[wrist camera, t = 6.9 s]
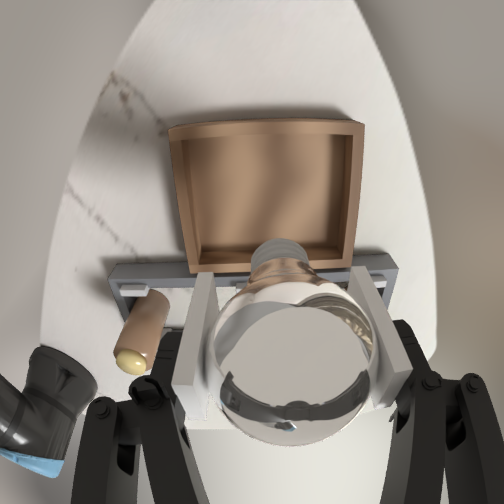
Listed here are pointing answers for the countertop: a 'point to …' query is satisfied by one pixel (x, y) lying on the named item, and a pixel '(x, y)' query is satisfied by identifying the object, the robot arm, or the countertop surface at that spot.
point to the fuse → (142, 333)
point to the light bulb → (290, 352)
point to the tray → (267, 189)
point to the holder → (230, 279)
